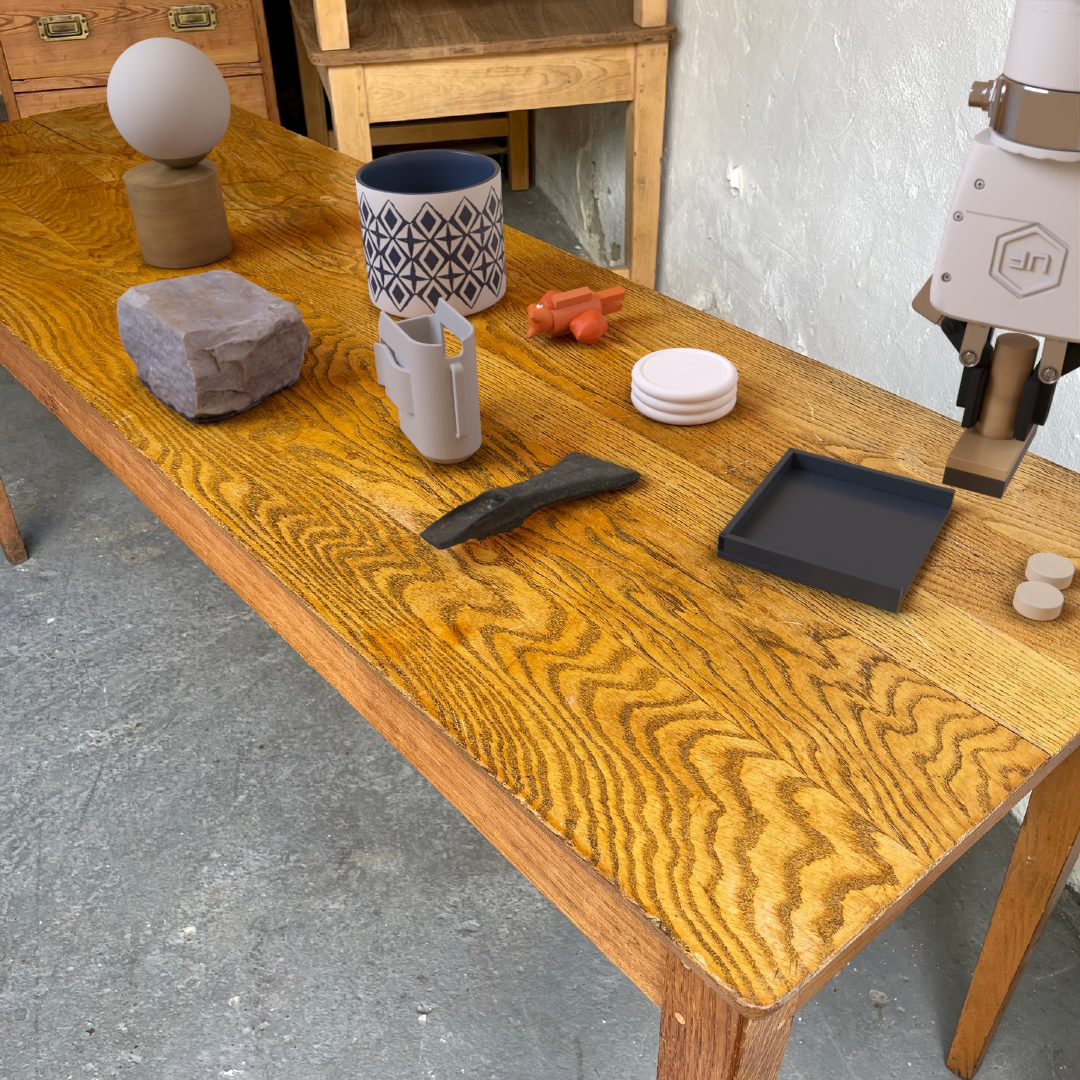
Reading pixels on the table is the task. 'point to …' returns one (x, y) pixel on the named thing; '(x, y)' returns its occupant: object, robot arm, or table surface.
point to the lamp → (173, 150)
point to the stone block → (211, 342)
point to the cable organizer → (432, 382)
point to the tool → (526, 499)
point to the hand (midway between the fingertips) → (998, 423)
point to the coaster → (684, 386)
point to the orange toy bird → (574, 313)
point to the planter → (432, 231)
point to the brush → (996, 422)
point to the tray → (838, 527)
